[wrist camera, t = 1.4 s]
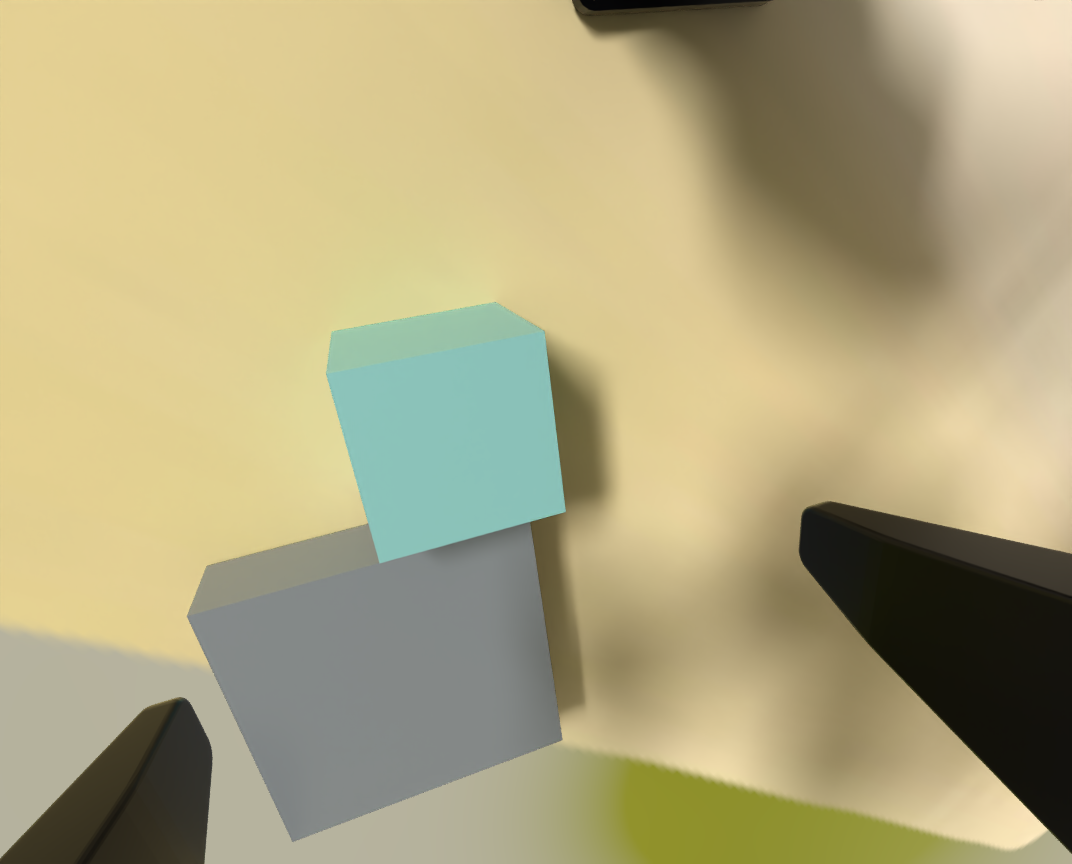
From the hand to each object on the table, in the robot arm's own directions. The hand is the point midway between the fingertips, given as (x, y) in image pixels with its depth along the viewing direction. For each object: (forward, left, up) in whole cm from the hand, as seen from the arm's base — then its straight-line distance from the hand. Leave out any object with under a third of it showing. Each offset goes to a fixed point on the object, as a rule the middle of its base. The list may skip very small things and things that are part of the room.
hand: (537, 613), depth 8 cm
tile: (+3, +9, -11) cm, 15 cm away
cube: (0, 0, -11) cm, 11 cm away
